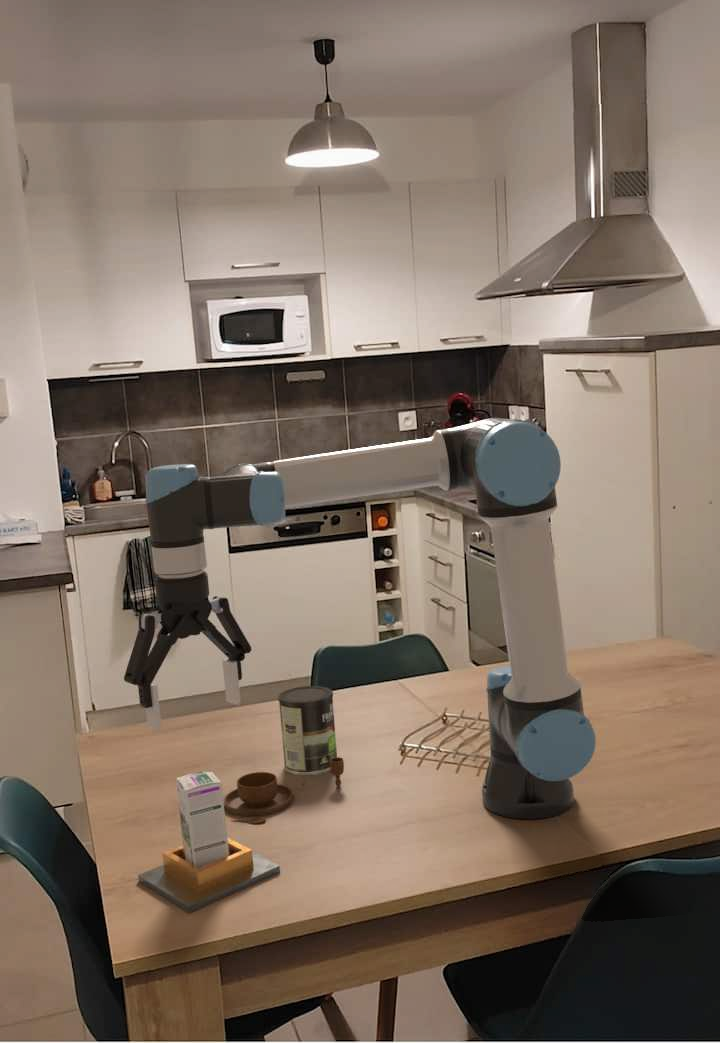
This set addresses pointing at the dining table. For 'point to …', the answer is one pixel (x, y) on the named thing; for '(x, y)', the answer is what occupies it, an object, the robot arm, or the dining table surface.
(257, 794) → the place setting
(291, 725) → the coffee can
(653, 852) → the dining table surface
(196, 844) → the syrup box
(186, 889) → the wooden box on plate
